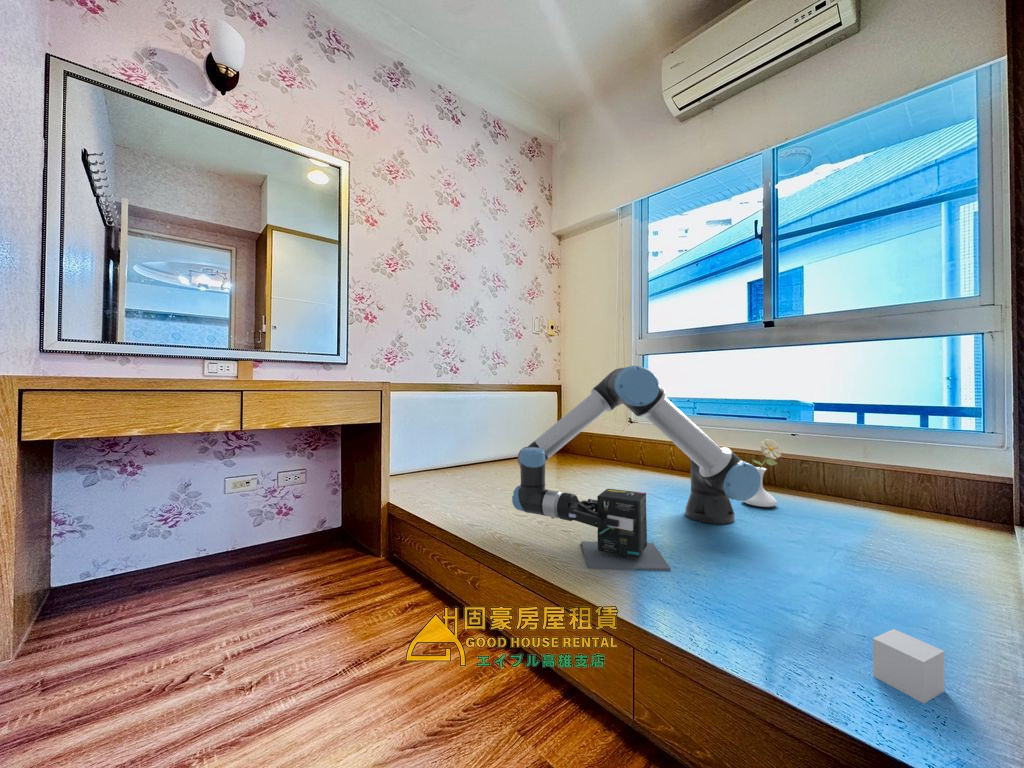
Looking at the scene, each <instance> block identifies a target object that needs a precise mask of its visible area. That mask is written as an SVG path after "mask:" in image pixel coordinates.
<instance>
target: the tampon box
mask: <svg viewBox="0 0 1024 768" xmlns="http://www.w3.org/2000/svg"><path fill="white" fill-rule="evenodd" d="M596 498H597V499H596V500H597V504H598V514H602V515H605V516H606V518H607V515H612V516H617V517H623V518H628V519H633V531H629V530H624V529H619V528H614V527H609V526H607V525H606V529H602V526H601V528H597V542H598V551H602V552H608V553H613V554H618V555H623V556H629V557H634V558H639V557H640V555H641V554H642V552H643V551H644V549H645V548H646V546H647V543H648V533H647V531H648V530H647V527H648V525H647V524H648V523H647V522H648V521H647V520H648V519H647V493H646V492H643V491H641V492H640V491H633V490H632V491H630V490H622V489H615V488H606V489H605V490H603V491H602V492H601V493H600V494H598V495H597V496H596Z"/></svg>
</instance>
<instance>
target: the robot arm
mask: <svg viewBox="0 0 1024 768" xmlns="http://www.w3.org/2000/svg"><path fill="white" fill-rule="evenodd" d="M590 391H591V392H590V394H589V395H588V396H587V397H585V398H584V399H583V400H582V401H580V403H578V404H577V405H576V406H575V407H573V408H572V409H571V410H570V411H568V413H566V414H565V415H563V417H561V418H560V419H559V420H558V421H557V422H555V423H554V424H553V425H552V426H550V427H549V428H548V429H547V430H545V431H544V432H543V433H542V434H540V436H538V437H537V438H536V439H535V440H534V441H533V442H531V443H530V444H529V445H527V446H524V447H522V448H521V449H520V450H519V452H518V454H517V463H518V465H519V470H520V485H517V486H516V487H515V488H514V490H513V492H512V494H513V495H511V496H512V497H511V501H512V502H511V503H512V505H513V507H514V508H515V509H516V510H517V511H521V512H525V513H526V514H535V515H539V516H544V517H549V518H551V519H553V520H554V519H560V520H562V521H563V520H564V521H569V522H572V521H576V522H578V523H581V524H585V525H587V526H588V525H589V526H591V527H595V528H597V529H598V528H601V526H602V529H606V525H607V526H609V527H614V528H619V529H624V530H629V531H633V519H628V518H623V517H617V516H612V515H607V518H606V516H605V515H602V514H598V504H597V499H592V498H587V500H581V501H580V500H579V499H578V496H577V495H576V494H574V493H569V492H563V491H560V490H559V491H558V490H552V489H547V488H546V462H547V461H548V460H549V458H551V457H553V455H555V454H556V453H557V452H558V451H559V450H561V449H562V448H564V446H566V445H567V444H568V443H569V442H570V441H572V440H573V439H574V438H575V437H577V436H578V435H579V434H580V433H581V432H583V431H584V430H585V429H586V428H587V427H589V426H590V425H591V424H592V423H593V422H594V421H596V420H598V418H600V416H602V415H603V414H605V413H606V412H611V411H613V410H615V408H617V407H619V406H621V405H624V406H625V407H626V408H627V409H628V410H630V412H632V413H633V415H635V416H636V417H638V418H639V417H640V418H641V417H642V418H643V417H644V418H646V419H647V420H648V421H649V422H650V423H651V424H652V425H653V426H655V427H656V429H658V431H660V432H661V433H662V434H663V435H664V436H665V437H667V439H669V441H671V442H672V443H673V444H674V445H675V446H676V447H677V448H679V450H680V451H682V452H683V453H684V454H685V455H686V456H687V457H688V458H689V461H690V494H689V497H688V500H687V503H686V506H685V507H684V508H685V516H686V517H688V518H689V519H691V520H693V521H696V522H697V521H698V522H701V523H705V524H706V523H707V524H715V525H716V524H717V525H723V524H724V525H725V524H731V523H733V522H735V518H736V517H735V511H734V509H733V505H732V503H731V500H733V501H734V500H735V501H737V502H744V501H745V500H748V499H750V498H752V497H753V496H755V494H756V493H757V492H758V490H759V488H760V485H761V483H760V480H761V476H760V473H759V471H758V470H757V468H756V467H757V466H755V465H753V464H751V463H750V462H747V461H744V460H742V459H741V458H740V457H739V456H738V455H737V454H735V453H734V452H733V450H731V449H730V448H728V447H720V446H719V445H718V444H717V443H716V442H715V441H714V440H713V439H712V438H711V437H710V436H708V434H706V433H705V432H704V431H703V430H702V429H701V428H700V427H698V426H697V425H696V424H695V422H693V421H692V420H691V419H690V418H689V417H688V416H686V415H685V413H683V411H682V410H680V409H679V408H678V407H677V406H676V405H675V404H673V402H672V401H670V400H669V399H668V398H667V397H666V389H665V387H663V386H661V384H660V383H659V379H658V378H657V376H656V374H654V372H652V371H651V369H648V368H646V367H644V366H639V365H629V366H626V367H619V368H616V369H614V370H613V371H611V372H609V374H607V375H606V376H605V377H604V378H603V379H601V381H599V383H597V384H596V386H593V388H592V389H591V390H590Z"/></svg>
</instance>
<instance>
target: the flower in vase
mask: <svg viewBox="0 0 1024 768" xmlns="http://www.w3.org/2000/svg"><path fill="white" fill-rule="evenodd" d="M759 447H760V452H762V454H763V456H764V457H765V458H764V460H763V462H760V461H757V460H756V459H754V458H752V462H753V463H755V464H758V465H760V466H755V467H756V468H757V470H758V471H759V473H760V476H761V480H760V483H761V485H760V488H759V490H758V492H757V493H756V494H755V496H753V497H752V498H750V499H748V500H745V501H743V502H744V503H746V504H748V505H751V506H753V507H754V506H755V507H762V508H771V507H775V506H777V504H778V501H777V500H776V498H775V497H773V495H772V494H770V493H769V492H767V491H766V490H765V488H764V485H763V479H764V475H765V473H766V471H767V470H768V468H765V467H763V465H764V464H765V463H766V464H767V465H769V466H771V467H772V466H775V465H777V464H778V462H776V460H777V459H778V458H780V457H782V453H783V451H782V448H781V446H780V444H778V443H777V441H776V440H774V439H769V438H766V439H763V441H761V442H760V446H759Z"/></svg>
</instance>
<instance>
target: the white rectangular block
mask: <svg viewBox="0 0 1024 768" xmlns="http://www.w3.org/2000/svg"><path fill="white" fill-rule="evenodd" d="M945 667H946V666H945V650H943V649H941V648H938V647H936V646H933V645H932V644H929V643H927V642H924V641H922V640H920V639H918V638H915V637H913V636H911V635H909V634H907V633H904V632H901V631H899V630H897V629H895V628H893V629H891V630H888V631H886V632H884V633H882V634H879V635H877V636H875V637H873V638H872V676H873V678H876V679H877V680H880V681H881V682H883V683H885V684H887V685H889V686H890V687H892V688H894V689H896V690H897V691H900V692H902V693H904V694H905V695H907V696H909V697H911V698H913V699H914V700H916V701H918V702H920V703H922V704H926V703H928V702H929V701H931V700H932V699H935V697H937V696H939V695H940V694H942V693H944V692H946V691H945V688H946V687H945V685H946V682H945V681H946V680H945V677H946V676H945V670H946V669H945Z"/></svg>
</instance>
